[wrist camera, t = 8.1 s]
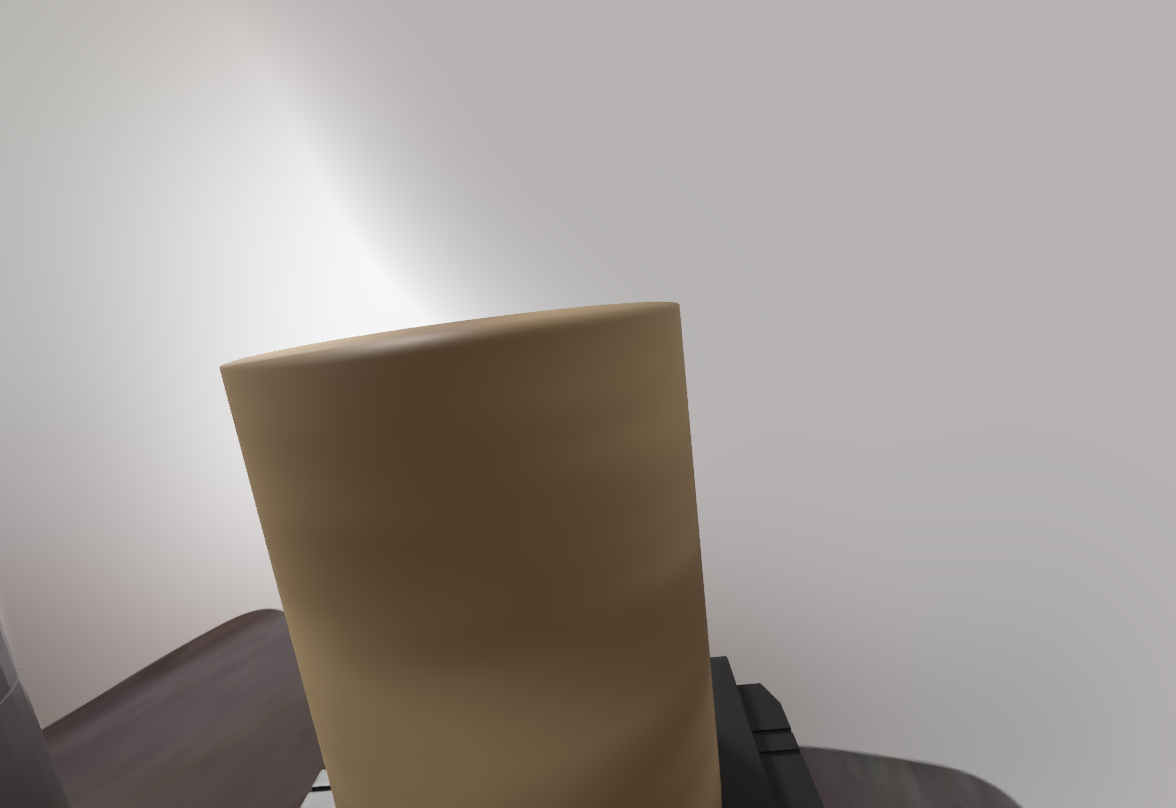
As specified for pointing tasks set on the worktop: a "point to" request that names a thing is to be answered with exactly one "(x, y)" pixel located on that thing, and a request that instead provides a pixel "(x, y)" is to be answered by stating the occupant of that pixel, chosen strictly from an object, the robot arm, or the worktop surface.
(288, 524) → the wooden dowel
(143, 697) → the worktop surface
